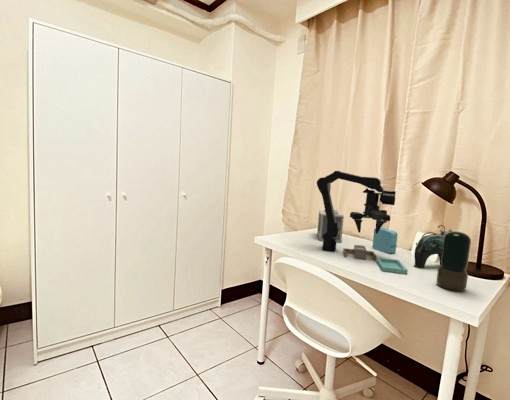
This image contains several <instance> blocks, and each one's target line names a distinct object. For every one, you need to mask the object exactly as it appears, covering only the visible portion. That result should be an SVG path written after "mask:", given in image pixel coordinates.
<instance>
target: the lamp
mask: <svg viewBox="0 0 510 400" xmlns="http://www.w3.org/2000/svg"><path fill="white" fill-rule="evenodd" d="M471 243H472V241H471V238H470V236H469V235H468V234H467V233H464V232H462V231H457V230H456V231H452V232H448V233H447V234H446V235H445V236H444V241H443V248H442V256H441V266H440V265H439V267H438V268H437V273H436V283H437V285H439V287H441V288H443V289H446V290H449V291H454V292H462V291H464V290H466V289H467V285H468V277H469V274H468V272H467V268H468V265H469V258H470V251H471Z"/></svg>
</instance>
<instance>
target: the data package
mask: <svg viewBox="0 0 510 400" xmlns="http://www.w3.org/2000/svg"><path fill="white" fill-rule="evenodd" d="M375 230H376V227H375V228H374V230H373V237H372V249H374V250H377V251H379V252H383V253H385V254H395V253H396V251H397V243H398V235H399V234H398V232H397V231H396V230H392V229H388V228H385V227H384V228H383V227H381V228H380V230H379V232H378V233H377V234H376V231H375Z"/></svg>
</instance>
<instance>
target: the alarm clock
mask: <svg viewBox="0 0 510 400" xmlns="http://www.w3.org/2000/svg"><path fill="white" fill-rule="evenodd" d="M333 210H334V214H335V219H336V221H337V222H339V221H340V226H341V228H342V229H340V230H341V231H340V233H339V234H338V235H337V236H336V237H335V239H336V240H335V241H336V244H342V242H343V241H342V240H343V239H342V238H343V230H344V229H343V228H344V227H343V226H344V217H345V215H344V214H343V213H342V212H341V211H338V210H337V209H333ZM317 219H318V220H317V230H316V231H317V233H316V235H317V237H318V241H319V242H322V243H323V236H322V235H324V234H325V233H326V232H327V216H326V212H325V209H323V210H319V211H318V218H317Z"/></svg>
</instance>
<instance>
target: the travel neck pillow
mask: <svg viewBox="0 0 510 400" xmlns="http://www.w3.org/2000/svg"><path fill="white" fill-rule="evenodd" d="M440 227H442V228H443V230H441V229H440V230H439V232H440V233H439V234H438V233H436V232H432V231H429V232H425V233H424V234H422V236H421V238H420V239H419V240H418V241H417V244H416V246H415V249H414V267H415V268H418V269H424V268H426V263H427V260H428V259H429V258H430V257H431V256H433V255H437V256H438V258H439V267H440V266H441V256H442V248H443V241H444V236H445V235H446V234H447V233H448V232H453V231H452V229H451V228H449V230H448V231H447V230H446V227H445V225H442V224H440V225H438V226H437V229H439V228H440Z"/></svg>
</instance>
